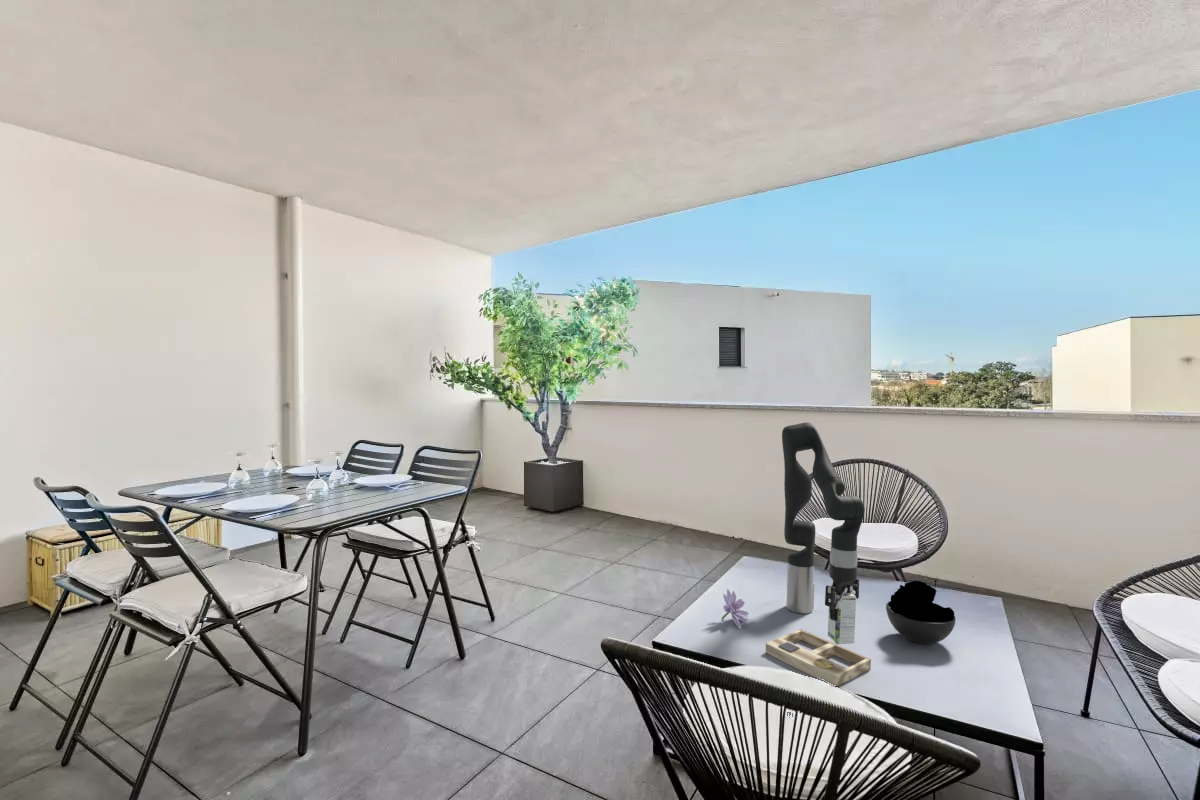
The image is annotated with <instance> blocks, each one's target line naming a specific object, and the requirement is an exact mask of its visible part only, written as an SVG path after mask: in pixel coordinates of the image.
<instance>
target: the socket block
mask: <svg viewBox="0 0 1200 800" xmlns="http://www.w3.org/2000/svg"><path fill="white" fill-rule="evenodd" d="M800 641H803V642H806V643H807V644H810V645H812V646H814V647H816V648H815V649H814V648H813V650H808V649H806V648H804V647H801V646H799V645H796V644H795V643H797V642H800ZM765 653H766V654H767V653H768V654H767V655H769V654H770V656H771V655H772V657H773V656H774V657H773V658H775V657H776V659H777V658H778V660H779V661H782V662H784V663H786V664H787V665H790V666H792V667H794V666H795V667H794V668H796V669H798V670H800V671H802V672H804V673H806V674H808V675H809V676H812V677H813V678H816V677H818V678H820V679H824V680H825V681H827V682H829V683H831V684H833V685H836V686H838V687H839V686H841V685H843V684H845V683H847V682H849V681H851V680H853V679H855V678H856V677H858V676H860V675H862V674H864V673H866V672H868V671H869V670H871V668H872V667H871V666H872V665H871V663H872V659H871V658H869V657H867V656H865V655H862V654H860V653H857V652H855V651H853V650H851V649H848V648H846V647H843V646H841V645H840V644H836V643H835V642H832V641H829V640H828V639H825V638H822V637H820V636H818V635H816V634H813V633H811V632H808V631H806V630H803V629H801V628H800V629H798V630H796V631H793V632H790V633H788V634H785V635H783V636H780V637H778V638H775V639H773V640H771V641H768V642H765ZM833 656H836V657H839V658H841V659H843V660H845V661H847V662H850V663H852V664H853V665H851V666H849V667H845V666H843V665H840V664H839V663H836V662H834V661H833V660H830V659H829V658H831V657H833ZM818 678H817V679H818ZM820 679H819V680H820ZM846 681H847V682H846ZM844 682H845V683H844ZM842 683H843V684H842Z"/></svg>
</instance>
